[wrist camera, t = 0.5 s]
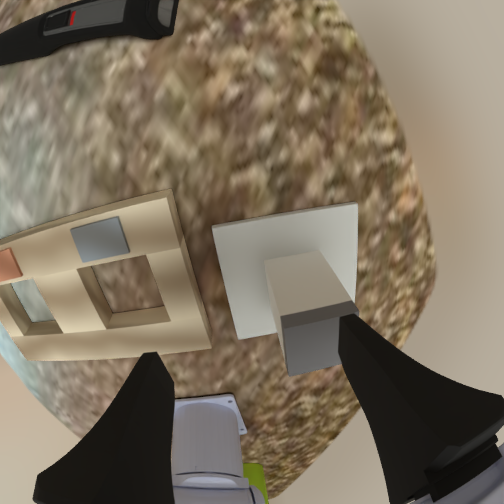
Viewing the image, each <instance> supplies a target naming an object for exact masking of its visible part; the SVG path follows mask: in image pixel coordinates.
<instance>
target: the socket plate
mask: <svg viewBox="0 0 504 504" xmlns="http://www.w3.org/2000/svg"><path fill="white" fill-rule="evenodd" d="M141 255H146V256H147V259H148V261H149V264H150V267H151V270H152V273H153V276H154V278H155V281H156V284H157V287H158V289H159V292H160V294H161V297H162V300H163V302H164V305H165V306H162V307H156V308H149V309H142V310H135V311H128V312H121V313H112V311H111V309H110V307H109V305H108V303H107V301H106V299H105V297H104V294H103V292H102V290H101V288H100V286H99V284H98V281H97V279H96V277H95V275H94V272H93V270H92V268H91V266H92V265H97V264H102V263H107V262H112V261H116V260H121V259H126V258H131V257H136V256H141ZM31 278H33V279H34V281H35V283H36V285H37V287H38V289H39V291H40V292H41V294H42V296H43V298H44V300H45V302H46V304H47V306H48V307H49V309H50V311H51V313H52V314H53V316H54V318H55V321H45V322H35V323H32V322H31V320H30V318H29V317H28V315H27V313H26V312H25V310H24V308H23V306H22V305H21V303H20V301H19V299H18V297H17V296H16V294H15V292H14V290H13V288H12V286H11V284H10V283H13V282H18V281H22V280H27V279H31ZM0 321H1V323H2V324H3V326H4V327H5V329H6V330H7V332H8V334H9V335H10V337H11V338H12V340H13V341H14V343H15V344H16V345H17V347H18V348H19V350H20V351H21V352H22V354H23V355H24V357H25V358H26V359H27V360H29V361H68V360H97V359H115V358H129V357H141V355H142V354H143V353H147V352H156V351H157V353H158V355H162V354H171V353H179V352H188V351H195V350H203V349H210V348H212V330H211V327H210V324H209V321H208V317H207V314H206V311H205V308H204V305H203V301H202V298H201V295H200V291H199V288H198V285H197V281H196V278H195V274H194V271H193V268H192V264H191V260H190V257H189V253H188V250H187V246H186V242H185V239H184V235H183V231H182V227H181V223H180V220H179V216H178V212H177V208H176V204H175V200H174V196H173V191H172V189H168V190H163V191H159V192H155V193H151V194H146V195H142V196H138V197H134V198H130V199H126V200H123V201H119V202H115V203H111V204H108V205H104V206H100V207H97V208H93V209H90V210H86V211H83V212H80V213H76V214H73V215H70V216H67V217H63V218H60V219H57V220H54V221H51V222H48V223H45V224H42V225H39V226H36V227H33V228H30V229H27V230H24V231H22V232H19V233H16V234H13V235H11V236H8V237H5V238H3V239H0Z"/></svg>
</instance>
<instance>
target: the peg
mask: <svg viewBox="0 0 504 504" xmlns="http://www.w3.org/2000/svg"><path fill="white" fill-rule="evenodd" d="M264 266H265V273H266V279H267V286H268V293H269V300H270V306H271V310H272V314H273V318H274V322H275V325H276V329H277V333H278V337H279V341H280V345H281V348H282V352H283V356H284V360H285V364H286V368H287V371H288V375H289V376H294V375H299V374H303V373H307V372H312V371H316V370H320V369H324V368H328V367H332V366H335V365H339V364H342V363H341V360H340V357H339V354H338V340H339V317H341V316H345V315H349V314H352V313H354V314H356V315H357V316H358V317H359V310H358V309H357V307H356V305H355V304H354V302H353V301H352V299H351V297H350V296H349V294H348V293H347V291H346V290H345V288H344V286H343V285H342V283H341V282H340V280H339V279H338V277H337V276H336V274H335V273H334V271H333V270H332V268H331V267H330V265H329V264H328V262H327V261H326V259H325V258H324V256H323V255H322V253H321V252H320V250H316V251H311V252H306V253H300V254H295V255H290V256H284V257H279V258H274V259H268V260H264Z"/></svg>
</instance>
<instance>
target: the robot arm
mask: <svg viewBox="0 0 504 504" xmlns="http://www.w3.org/2000/svg"><path fill="white" fill-rule="evenodd" d="M338 354H339V357H340V360H341V363H342V366H343V368H344V371H345V374H346V376H347V378H348V380H349V382H350V384H351V386H352V388H353V390H354V392H355V394H356V397H357V399H358V401H359V403H360V405H361V407H362V409H363V411H364V413H365V415H366V418H367V420H368V422H369V425H370V428H371V431H372V434H373V437H374V440H375V443H376V447H377V450H378V454H379V457H380V461H381V464H382V468H383V472H384V476H385V481H386V486H387V491H388V496H389V502H390V504H407V503H409V502H411V501H413V500H415V501H414V502H412V503H410V504H504V443H503V444H502V445H501V446H499V447H497V446H496V444H495V443H496V442H497V441H498V438H497V436H496V435H495V434H496V433H497V432H498V431H499V429H500V428H501V427H502V426H503V425H504V398H503V397H502V396H501V395H498V394H494V393H489V392H485V391H481V390H478V389H474V388H472V387H469V386H466V385H463V384H461V383H458V382H456V381H453V380H451V379H449V378H446V377H444V376H442V375H440V374H438V373H436V372H434V371H432V370H430V369H429V368H427V367H425V366H423V365H422V364H420V363H418V362H417V361H415V360H414V359H412V358H411V357H409V356H407V355H406V354H405V353H403V352H402V351H400V350H399V349H398V348H396V347H395V346H394V345H392V344H391V343H390V342H389V341H387V340H386V339H385V338H383V337H382V336H381V335H380V334H378V333H377V332H376V331H375V330H374V329H372V328H371V327H370V326H369V325H368V324H366V323H365V322H364V321H363V320H362V319H361V318H359V317H358V316H357V315H356V314H354V313H352V314H349V315H345V316H341V317H339V340H338ZM172 431H173V439H172ZM246 433H247V429H246V426H245V424H244V421H243V419H242V416H241V414H240V411H239V408H238V406H237V403H236V400H235V398H234V396H233V395H232V394H224V395H217V396H208V397H199V398H188V399H176V400H175V391H174V381H173V380H172V378H171V376H170V374H169V373H168V371H167V369H166V367H165V366H164V364H163V362H162V360H161V358H160V356H159V355H158V353H157V351H156V352H147V353H143V354H142V355H141V357H140V358H139V360H138V362H137V363H136V365H135V366H134V368H133V370H132V371H131V373H130V375H129V376H128V378H127V380H126V381H125V383H124V384H123V386H122V387H121V389H120V391H119V392H118V394H117V395H116V397H115V398H114V400H113V401H112V403H111V404H110V406H109V407H108V408H107V410H106V411H105V413H104V414H103V415H102V417H101V418H100V419H99V421H98V422H97V423H96V424H95V425H94V427H93V428H92V429H91V430H90V431H89V432H88V433H87V434H86V435H85V436H84V437H83V439H82V440H81V441H80V442H79V443H78V444H77V445H76V446H75V447H74V448H73V449H71V450H70V451H69V452H68V453H67V454H66V455H65V456H63V457H62V458H61V459H60V460H58V461H57V462H56V463H55V464H53V465H52V466H50V467H49V468H47V469H46V470H44V471H43V472H41V473H40V474H38V475H37V480H36V484H35V489H34V494H33V501H34V502H35V503H37V504H265V500H264V497H263V494H262V492H261V491H260V490H259V489H258V488H257V487H256V486H254V485H249V481H248V478H244V477H243V462H242V453H241V444H240V435H242V434H246ZM171 443H172V462H171Z"/></svg>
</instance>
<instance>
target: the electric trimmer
mask: <svg viewBox="0 0 504 504" xmlns="http://www.w3.org/2000/svg"><path fill="white" fill-rule="evenodd" d="M178 2H179V0H81V1H77V2H74V3H71V4H68V5H65V6H62V7H60V8H57V9H55V10H52V11H49V12H46V13H44V14H41V15H39V16H36V17H34V18H32V19H29V20H27V21H25V22H23V23H21V24H19V25H17V26H15V27H12V28H10V29H9V30H7V31H5V32H3V33H1V34H0V65H4V64H8V63H13V62H18V61H23V60H28V59H33V58H38V57H43V56H47V55H50V54H51V53H52V52H53V51H54V50H55V49H56V48H57V47H60V46H62V45H65V44H68V43H73V42H77V41H82V40H87V39H93V38H99V37H105V36H114V35H134V36H138V37H141V38H145V39H161V38H162V36H163V35H172V34H173V31H174V26H175V20H176V14H177V8H178Z"/></svg>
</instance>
